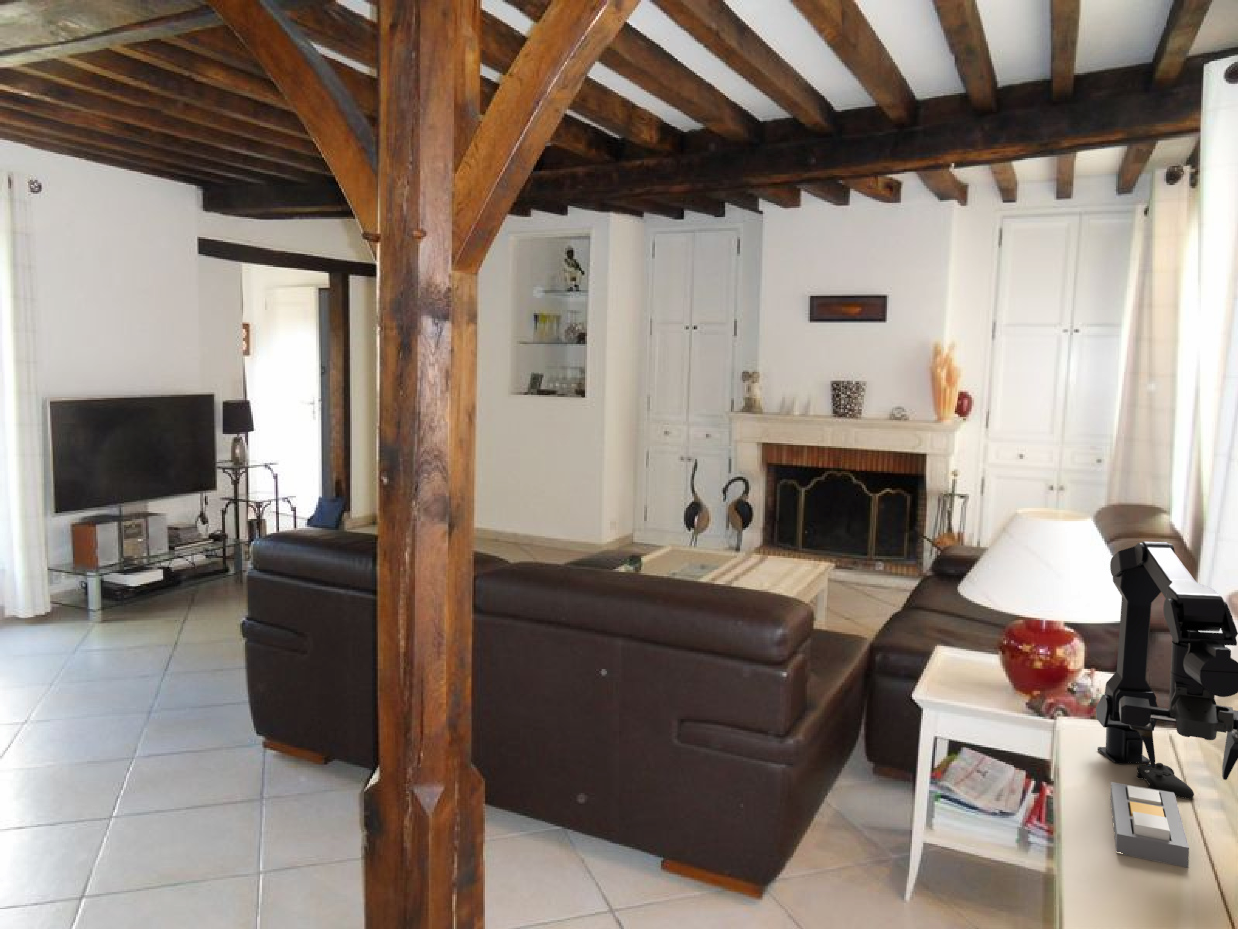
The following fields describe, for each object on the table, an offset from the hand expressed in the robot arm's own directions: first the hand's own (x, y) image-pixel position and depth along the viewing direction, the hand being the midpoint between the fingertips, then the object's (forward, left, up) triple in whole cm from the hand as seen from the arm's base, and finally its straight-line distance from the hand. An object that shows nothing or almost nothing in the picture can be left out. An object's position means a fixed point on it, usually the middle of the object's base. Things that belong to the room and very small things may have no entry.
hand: (1188, 773), depth 133 cm
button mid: (-2, -5, -9) cm, 10 cm away
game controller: (-17, +7, -11) cm, 21 cm away
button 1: (-7, -2, -9) cm, 11 cm away
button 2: (+4, -8, -8) cm, 12 cm away
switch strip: (-2, -5, -10) cm, 11 cm away
